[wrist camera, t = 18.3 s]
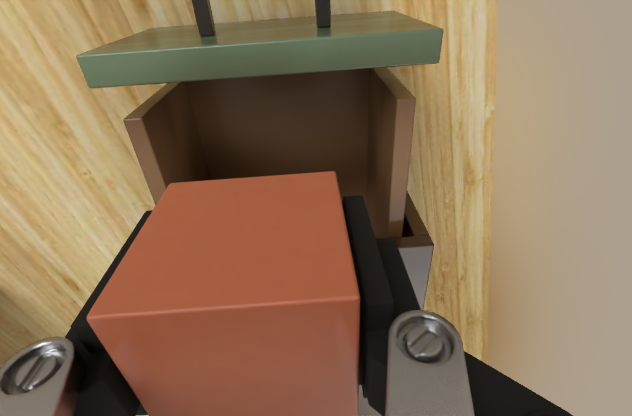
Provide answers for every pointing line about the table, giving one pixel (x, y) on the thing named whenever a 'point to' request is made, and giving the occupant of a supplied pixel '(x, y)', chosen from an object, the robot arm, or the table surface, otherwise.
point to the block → (238, 301)
